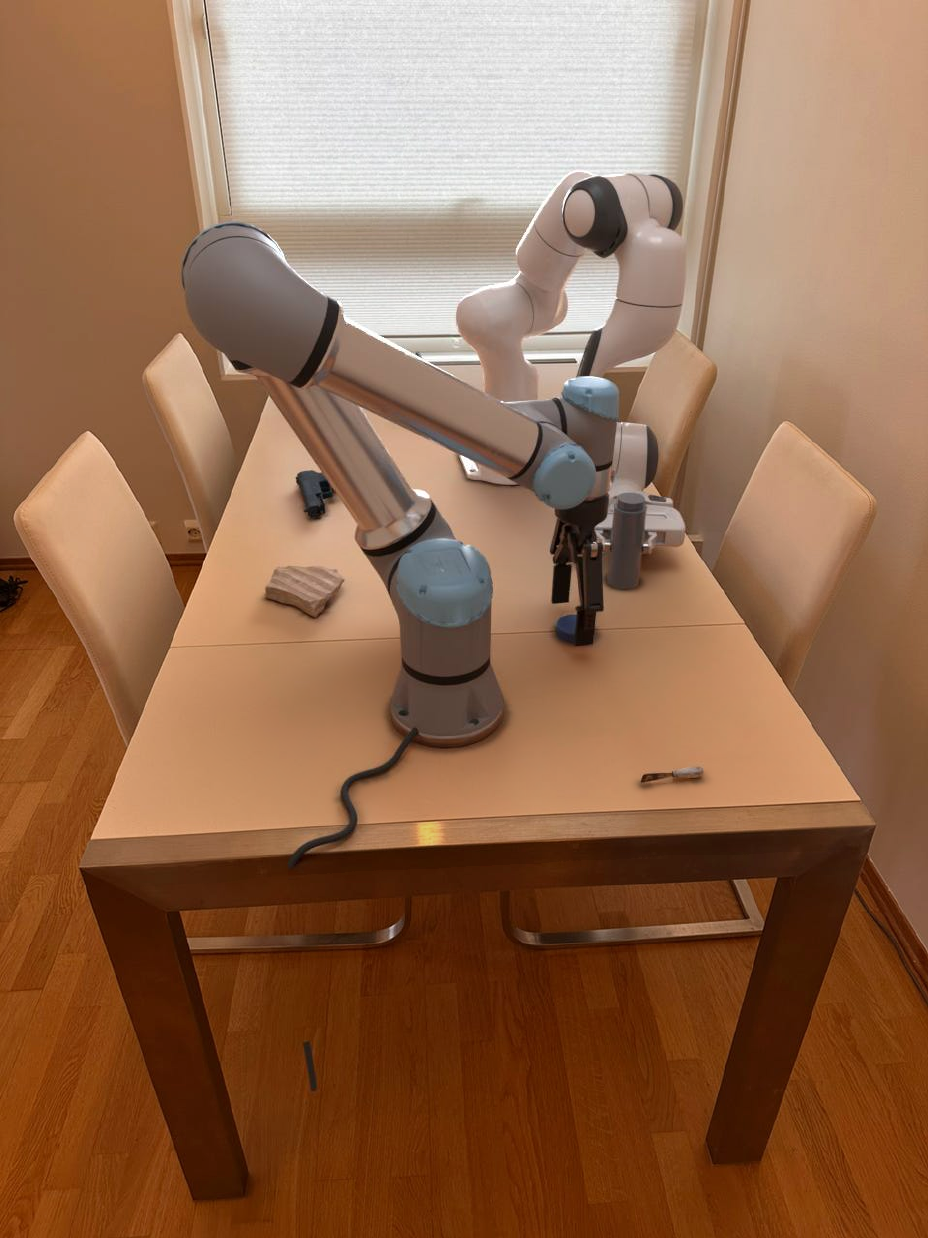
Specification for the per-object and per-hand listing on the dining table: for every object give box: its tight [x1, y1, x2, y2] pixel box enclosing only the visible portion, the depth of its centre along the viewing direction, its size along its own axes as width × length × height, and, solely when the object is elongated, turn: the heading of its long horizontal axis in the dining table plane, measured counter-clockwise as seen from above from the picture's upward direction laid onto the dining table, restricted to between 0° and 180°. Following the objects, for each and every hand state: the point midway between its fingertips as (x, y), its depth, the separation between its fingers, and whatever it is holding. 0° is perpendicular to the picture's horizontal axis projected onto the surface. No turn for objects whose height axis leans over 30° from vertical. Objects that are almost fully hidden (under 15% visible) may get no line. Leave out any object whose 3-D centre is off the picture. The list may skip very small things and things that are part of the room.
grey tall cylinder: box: [606, 493, 647, 590], centre depth 147 cm, size 5×5×15 cm
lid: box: [555, 613, 596, 645], centre depth 137 cm, size 6×6×2 cm
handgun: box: [295, 469, 335, 519], centre depth 179 cm, size 3×18×12 cm
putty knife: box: [640, 765, 705, 784], centre depth 109 cm, size 1×8×2 cm, turn 103°
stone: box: [264, 565, 345, 618], centre depth 147 cm, size 13×12×3 cm
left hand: (571, 622), depth 136 cm, fingers open, 12 cm apart
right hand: (626, 549), depth 147 cm, fingers closed on grey tall cylinder, 5 cm apart
